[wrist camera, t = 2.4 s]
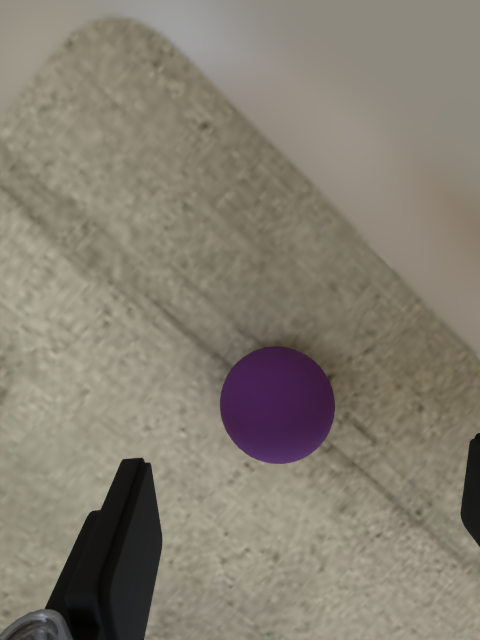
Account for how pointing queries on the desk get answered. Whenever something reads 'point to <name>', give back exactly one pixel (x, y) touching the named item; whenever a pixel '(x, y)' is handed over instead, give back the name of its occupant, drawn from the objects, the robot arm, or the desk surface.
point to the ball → (277, 405)
